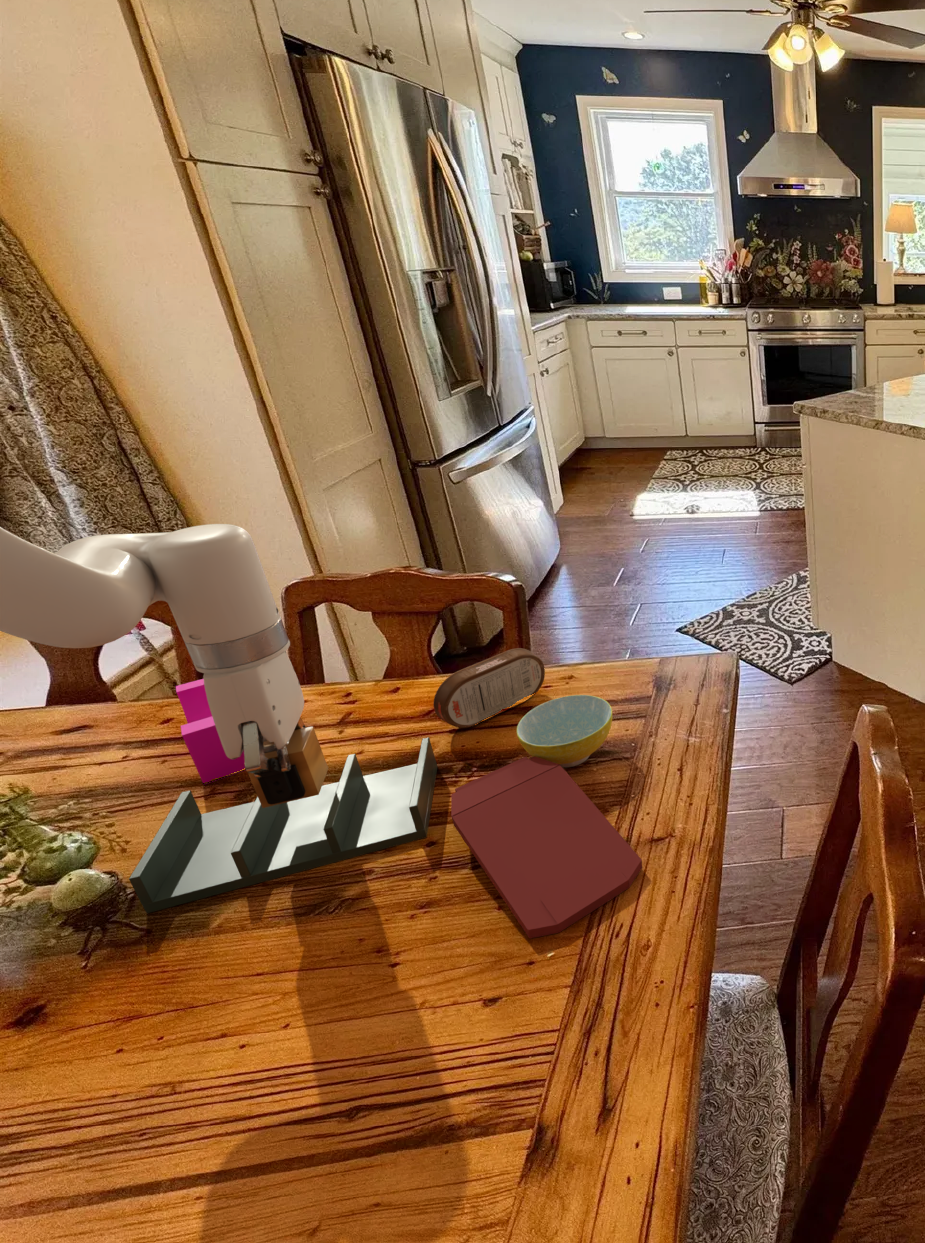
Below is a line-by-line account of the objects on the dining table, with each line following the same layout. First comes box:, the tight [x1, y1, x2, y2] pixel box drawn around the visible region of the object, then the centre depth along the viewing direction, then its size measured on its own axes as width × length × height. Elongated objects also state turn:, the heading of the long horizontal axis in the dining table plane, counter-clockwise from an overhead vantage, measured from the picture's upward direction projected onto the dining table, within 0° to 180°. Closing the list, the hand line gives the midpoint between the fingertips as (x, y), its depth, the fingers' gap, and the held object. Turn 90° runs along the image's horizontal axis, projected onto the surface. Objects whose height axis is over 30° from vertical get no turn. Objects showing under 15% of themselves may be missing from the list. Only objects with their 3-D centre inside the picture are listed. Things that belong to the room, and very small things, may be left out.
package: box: [244, 726, 329, 808], centre depth 82 cm, size 5×5×6 cm
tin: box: [433, 647, 546, 729], centre depth 106 cm, size 15×3×8 cm, turn 148°
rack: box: [128, 737, 438, 914], centre depth 84 cm, size 24×14×5 cm, turn 117°
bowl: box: [516, 694, 613, 768], centre depth 97 cm, size 11×12×6 cm
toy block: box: [175, 678, 246, 785], centre depth 97 cm, size 15×6×8 cm, turn 45°
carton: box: [450, 756, 643, 939], centre depth 83 cm, size 12×5×25 cm
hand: (293, 782), depth 83 cm, fingers closed on package, 5 cm apart
